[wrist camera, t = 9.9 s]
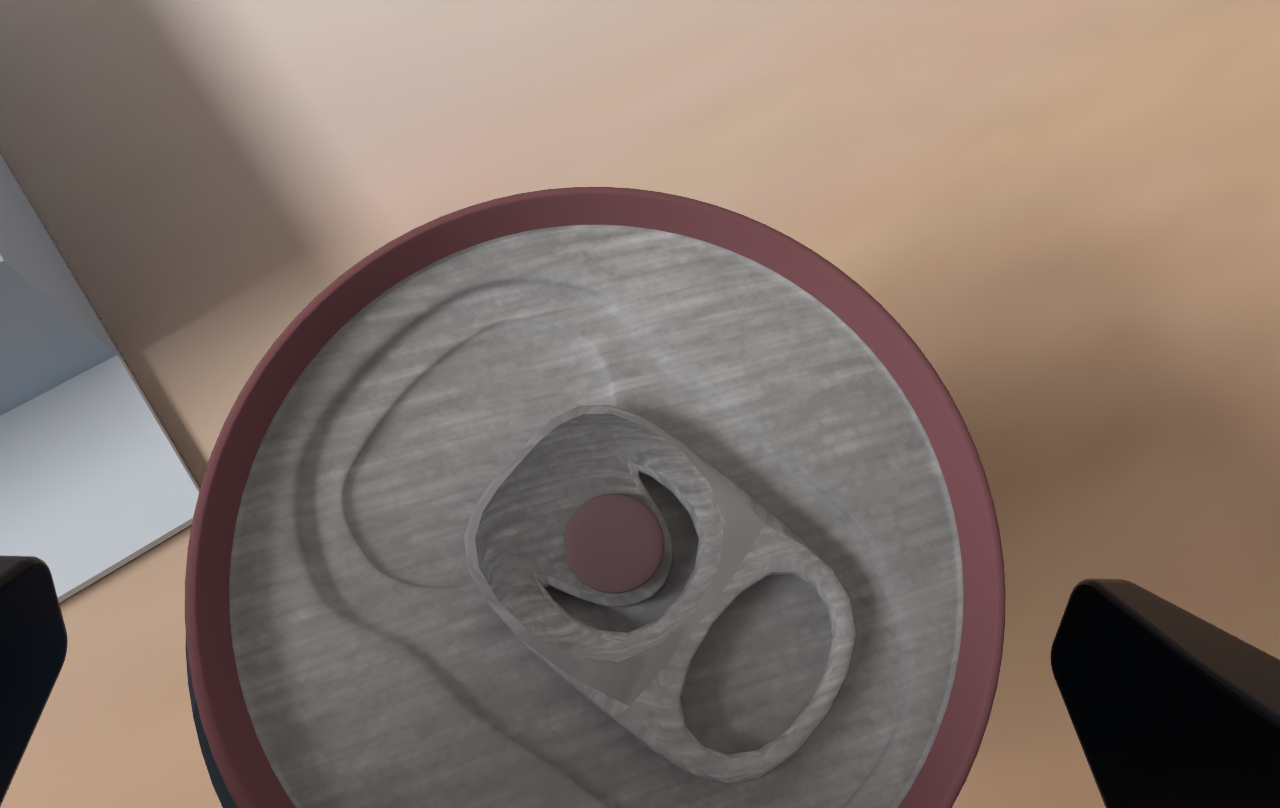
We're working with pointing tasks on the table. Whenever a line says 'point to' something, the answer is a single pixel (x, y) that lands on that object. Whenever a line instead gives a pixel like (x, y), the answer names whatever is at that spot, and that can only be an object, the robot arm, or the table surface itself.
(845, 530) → the soda can
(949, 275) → the table surface
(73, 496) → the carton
